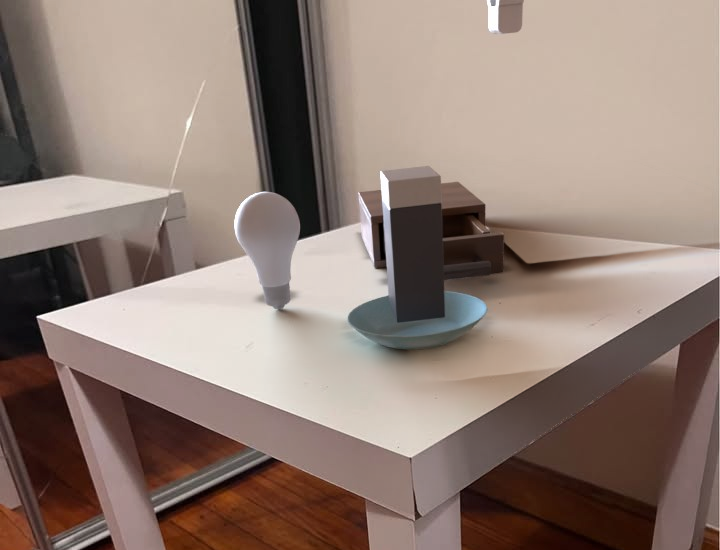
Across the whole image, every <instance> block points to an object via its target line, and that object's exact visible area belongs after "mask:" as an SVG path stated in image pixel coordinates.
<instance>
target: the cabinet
mask: <svg viewBox="0 0 720 550" xmlns="http://www.w3.org/2000/svg"><path fill="white" fill-rule="evenodd" d="M357 195H358V205H359V218H360V230H361V238H362V241H363V244H364V246H365V249H366V251H367V253H368V256H369V257H370V260H371V263H372V265H373V268H374V269H378V267H380V268H387V263H386V256H385V254H384V252H383V250H382V244H381V243H382V242H381V230H380V223H384V219H383V205H382V190H381V189H376V190H367V191H359V192H358V193H357ZM441 200H442V202H441V204H442V216H449V215H459V214H468V213H471V214H472V215H473V216H474V217H475V218H476V219H477V220H479V221H480V222H481V223H482V224H483V225H484V226H485V227H486V203H485V202H484V201H482V200H481V199H480V198H479V197H477V196H476V195H475V194H474V193H473V192H471V191H470V190H469V189H468V188H466V187H465V186H464V185H463V184H462V183H461V182H460V181H451V182H441ZM385 266H386V267H385Z"/></svg>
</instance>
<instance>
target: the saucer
mask: <svg viewBox="0 0 720 550" xmlns="http://www.w3.org/2000/svg"><path fill="white" fill-rule="evenodd" d="M444 298H445V317H444V318H435V319H426V320H418V321H409V322H400V323H397V321H396V319H395V316H394V314H393V312H392V309H391V307H390V304H389V294H388V295H385V296H380V297H377V298H375V299H371V300H368V301H365V302H364V303H361V304H359V305H357V306H356V307H354V308H353V309H352V310H350V312H349V313H348V315H347V317H346V318H347V322H348V324H349V325H350V327H351V328H353V329H354V330H355V331H356V332H358V333H359V334H360V335H362V336H363V337H365V338H367V339H368V340H370V341H371V342H373V343H376V344H379V345H380V346H384V347H387V348H391V349H395V350H396V349H397V350H409V351H411V350H414V351H415V350H425V349H432V348H436V347H440V346H443V345H446V344H449V343H451V342H453V341H455V340H457V339H459V338H461V337H462V336H465V334H467V333H468V332H469V331H471V330H472V329H473V328H475V326H476V325H478V324H479V322H481V321H482V320H483V318H484V317H485V316H486V315H487V313H488V306H487V303H486V302H485V301H483V300H482V299H480V298H478V297H476V296H473V295H471V294H467V293H462V292H457V291H445V290H444Z"/></svg>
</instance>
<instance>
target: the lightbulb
mask: <svg viewBox="0 0 720 550" xmlns="http://www.w3.org/2000/svg"><path fill="white" fill-rule="evenodd" d="M239 205H240V206H239V207H238V208H237V210H236V213H235V216H234V217H235V218H234V227H233V228H234V233H235V237H236V239H237V242H238V243H239V245H240V246H241V248H242V249H243V251H244V252H245V254H246V255H247V256H248V257H249V260H251V262H252V264H253V267H254V270H255V272H256V275H257V279H258V283H259V284H260V285H261V287H262V294H263V298H264V302H265V304H266V305H267V306H269V307H272V308H273V309H274V310H282V309H284V307H285V306H286V305H287V304H289V303H290V302H291V300H292V299H291V286H290V282H291V279H292V274H291V272H292V271H291V268H292V258H293V254H294V251H295V248H296V246H297V243H298V240H299V237H300V231H301V223H300V218H299V215H298V212H297V211H296V208H295V207H294V205H293V204H292V203H291V202H290V201H289V200H288V199H287V198H286V197H284V196H282V195H280V194H278V193H276V192H271V191H260V192H256V193H254V194H251V195H250V196H248V197H247V198H246V199H244V201H243V202H241V204H239Z"/></svg>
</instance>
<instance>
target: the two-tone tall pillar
mask: <svg viewBox="0 0 720 550" xmlns="http://www.w3.org/2000/svg"><path fill="white" fill-rule="evenodd" d="M379 173H380V174H379V175H380V190H382V205H383V219H384V234H385V249H386V263H387V267H386V277H387V291H388V295H389V304H390V307H391V309H392V312H393V314H394V316H395V319H396V321H397V323H400V322H409V321H418V320H426V319H435V318H444V317H445V298H444V291H445V281H444V265H443V233H442V204H441V202H442V200H441V183H442V177H441V175H440V174H439V173H438V172H437V171H435V170H434V169H433V168H432V167H431V166H429V165H424V166H416V167H415V166H413V167H405V168H396V169H387V170H380V172H379Z"/></svg>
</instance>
